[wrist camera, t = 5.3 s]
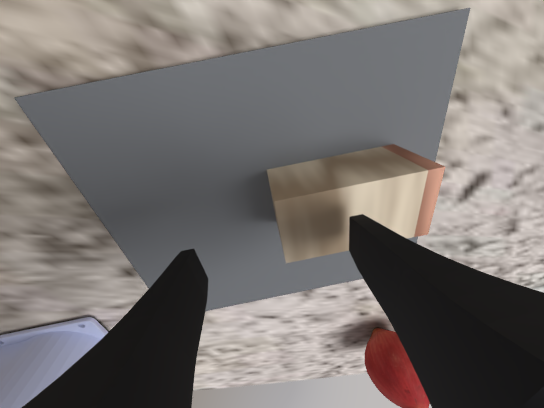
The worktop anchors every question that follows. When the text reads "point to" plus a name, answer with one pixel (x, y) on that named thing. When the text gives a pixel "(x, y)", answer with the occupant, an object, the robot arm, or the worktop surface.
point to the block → (352, 198)
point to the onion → (393, 370)
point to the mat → (245, 144)
